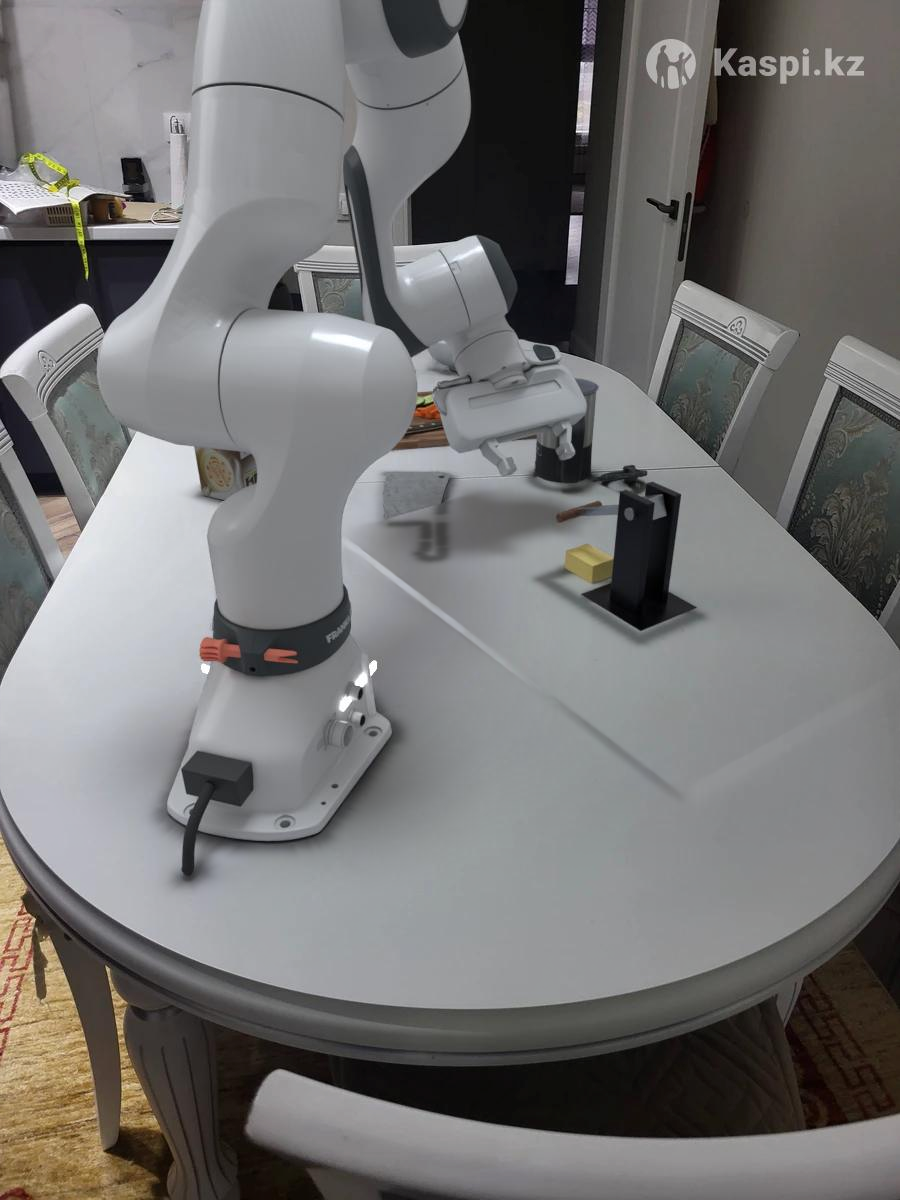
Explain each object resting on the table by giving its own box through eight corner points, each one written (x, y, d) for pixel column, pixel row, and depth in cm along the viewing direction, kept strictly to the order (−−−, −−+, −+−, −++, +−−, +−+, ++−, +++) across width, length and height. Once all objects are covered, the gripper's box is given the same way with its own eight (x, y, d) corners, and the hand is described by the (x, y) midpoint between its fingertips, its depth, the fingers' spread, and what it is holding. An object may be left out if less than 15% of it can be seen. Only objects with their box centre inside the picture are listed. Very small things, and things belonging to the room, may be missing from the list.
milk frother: (523, 471, 141) (526, 379, 134) (611, 459, 146) (619, 369, 138) (561, 506, 130) (567, 407, 122) (656, 491, 134) (668, 395, 127)
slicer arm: (557, 528, 107) (553, 508, 107) (598, 515, 110) (594, 496, 110) (638, 525, 95) (633, 503, 95) (680, 510, 98) (677, 489, 98)
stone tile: (369, 558, 116) (446, 557, 116) (369, 554, 116) (446, 554, 115) (386, 473, 141) (449, 473, 141) (386, 470, 141) (449, 470, 141)
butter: (564, 569, 111) (565, 550, 110) (585, 561, 113) (587, 543, 111) (591, 585, 107) (592, 566, 106) (612, 577, 109) (614, 558, 108)
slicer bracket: (579, 602, 106) (588, 487, 98) (635, 581, 110) (647, 469, 103) (639, 640, 99) (654, 518, 91) (696, 616, 103) (714, 498, 95)
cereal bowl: (513, 360, 198) (514, 328, 195) (493, 381, 185) (494, 346, 181) (441, 354, 203) (440, 323, 199) (416, 374, 189) (415, 341, 186)
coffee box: (274, 491, 135) (262, 387, 127) (247, 506, 131) (233, 399, 123) (227, 481, 139) (212, 379, 131) (199, 495, 134) (182, 391, 126)
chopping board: (528, 390, 179) (529, 375, 177) (572, 435, 156) (573, 418, 154) (303, 407, 171) (301, 391, 169) (314, 456, 148) (312, 438, 146)
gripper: (436, 370, 107) (483, 472, 104) (567, 345, 116) (612, 437, 114) (417, 397, 112) (461, 495, 110) (544, 371, 122) (587, 460, 120)
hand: (539, 465), depth 112 cm, fingers open, 8 cm apart
